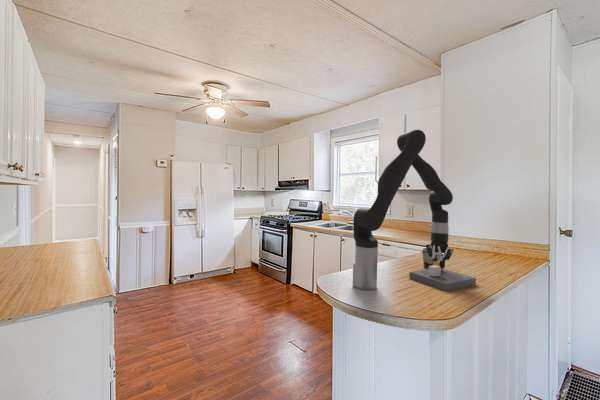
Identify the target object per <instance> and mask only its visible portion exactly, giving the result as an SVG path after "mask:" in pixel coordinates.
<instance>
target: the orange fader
mask: <svg viewBox="0 0 600 400" xmlns="http://www.w3.org/2000/svg"><path fill="white" fill-rule="evenodd" d="M433 265H436V266H440V261H433ZM444 269H445V267H444V268H441V271H442V270H444Z"/></svg>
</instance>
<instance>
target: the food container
mask: <svg viewBox="0 0 600 400" xmlns="http://www.w3.org/2000/svg"><path fill="white" fill-rule="evenodd" d="M432 250H433V248H432ZM421 254H422V259H423V261H422V262H423V269H429V266H432V265H433V264H432V263H433V262H432V261H433V258H432V257H430V256H429V254H428V251H427V248H426V247H424V248H422V250H421ZM442 254H443V253H442ZM437 259H438V260H437V261H440V256H439V254H438V257H437Z"/></svg>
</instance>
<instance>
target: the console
mask: <svg viewBox="0 0 600 400" xmlns="http://www.w3.org/2000/svg"><path fill="white" fill-rule="evenodd" d="M408 276H409V279H411V280H413V281H417V282H420V283H422V284H426V285H428V286H430V287H434V288H437V289H440V290H443V291H445V292H449V291H454V290H458V289H462V288H466V287H471V286H475V285H476V283H477V277H474V276H470V275H466V274H464V273H459V272H455V271H452V270H449V269H445V268H444V270H442V271H441V273H440V276H435V277H434V276H431V275H429V268H423V269H417V270H413V271H412V270H411V271H409V275H408Z"/></svg>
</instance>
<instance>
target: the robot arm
mask: <svg viewBox="0 0 600 400" xmlns="http://www.w3.org/2000/svg"><path fill="white" fill-rule="evenodd" d="M426 141H427V139H426V134H425V132H424V131H422V129H413V130H410V131H407V132H403V133H401V134H399V135H398V137H397V139H396V145H397V148H398V149H399V151H400V153H399V154H398V155H397V156H396V157H395V158H394V159H393V160H391V162H390V163H389V164H387V165H386V167H385V168H384V170H383V171H382V173H381V175H380V176H379V177H378V178H379V179H378V180H377V196H376V198H375V199H374V202H373V203H372V205H371V207H370V208H369V207H368V208H367V207H360V208H358V209H357V210H356V211H355V213H354V215H353V222H352V223H353V239H354V242H355V246H354V247H355V251H354V254H355V255H354V259H355V260H354V262H353V264H352V286H354V287H355V288H357V289H359V290H361V291H362V290H368V291H369V290H370V291H371V290H375V289H376V288H377V287H378V285H377V284H378V253H379V251H378V250H379V242H378V239H377V238H376V237H375V236H374V235H373V232H375V231H377V230H379V229H380V228H381V226H382V224H383V223H384V220H385V218H386V215H387V212H388V210H389V207H390V206H391V204H392V202H393V199H394V198H395V196H396V194H397V192H398V190H399V189H400V187H401V185H402V184H403V181H404V179H405V177H406V175H407V174H408V172H409V170H410V168H411V167H413V169H414V170H415V171H416V172H417V174H418V176H419V177H420V179H421V181H422V182H423V184H424V186H425V188H426V189H427V190H428V191H431V192H430V194H429V195H428V196H429V197H428V202H429V206H430V207H429V208H430V211H431V227H430V240H431V242H430V243H428V244H426V245H425V248H427V251H428V254H429V256H430V257H432V258H433V261H437V260H438V259H437V257H438V254H439V256H440V267H441V268H444V269H445V267H446V261H449V260H450V259H451V256H452V255H453V253H454V251H455V250H454V249H453V248H450V246H449V245H448V243H449V228H450V227H449V212H448V211H447V210H445V209H444V208H443V206H447V205H451V203H453V197H454V196H453V193H452V191H451V190H450V188H448V187H447V185H446V184H445V183H444V182H442V181H441V179H440V177H439V174H438V173H437V171H436V170H435V168H434V167H433V166H432V165H431V164H429V163H428V162H427V161H426V160H424V159H423V158H422V156H421V155H420V153H421V151H422V150H423V148H424V147H425V145H426ZM432 248H433V250H432ZM442 253H443V254H442ZM433 261H432V262H433ZM432 264H433V263H432Z"/></svg>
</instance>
